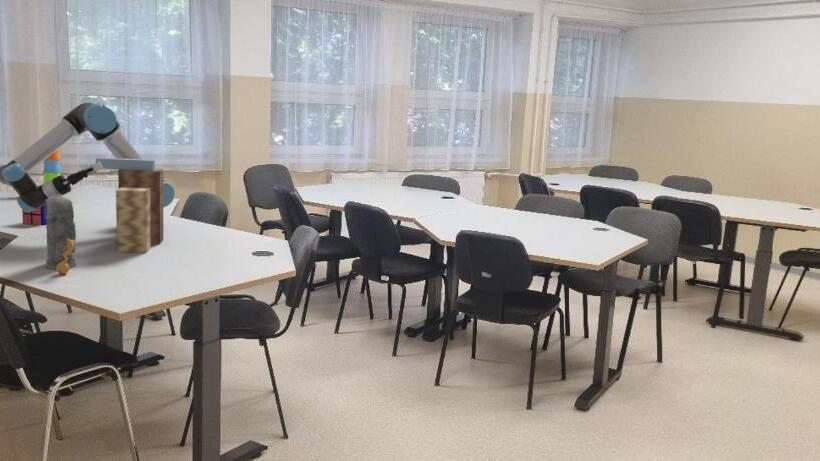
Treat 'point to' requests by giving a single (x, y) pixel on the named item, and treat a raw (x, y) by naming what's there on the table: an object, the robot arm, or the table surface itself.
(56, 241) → the figurine
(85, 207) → the table surface
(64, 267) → the figurine
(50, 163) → the stacking cups
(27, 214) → the puzzle cube
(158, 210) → the tower
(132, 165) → the beam
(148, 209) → the tan tall block
